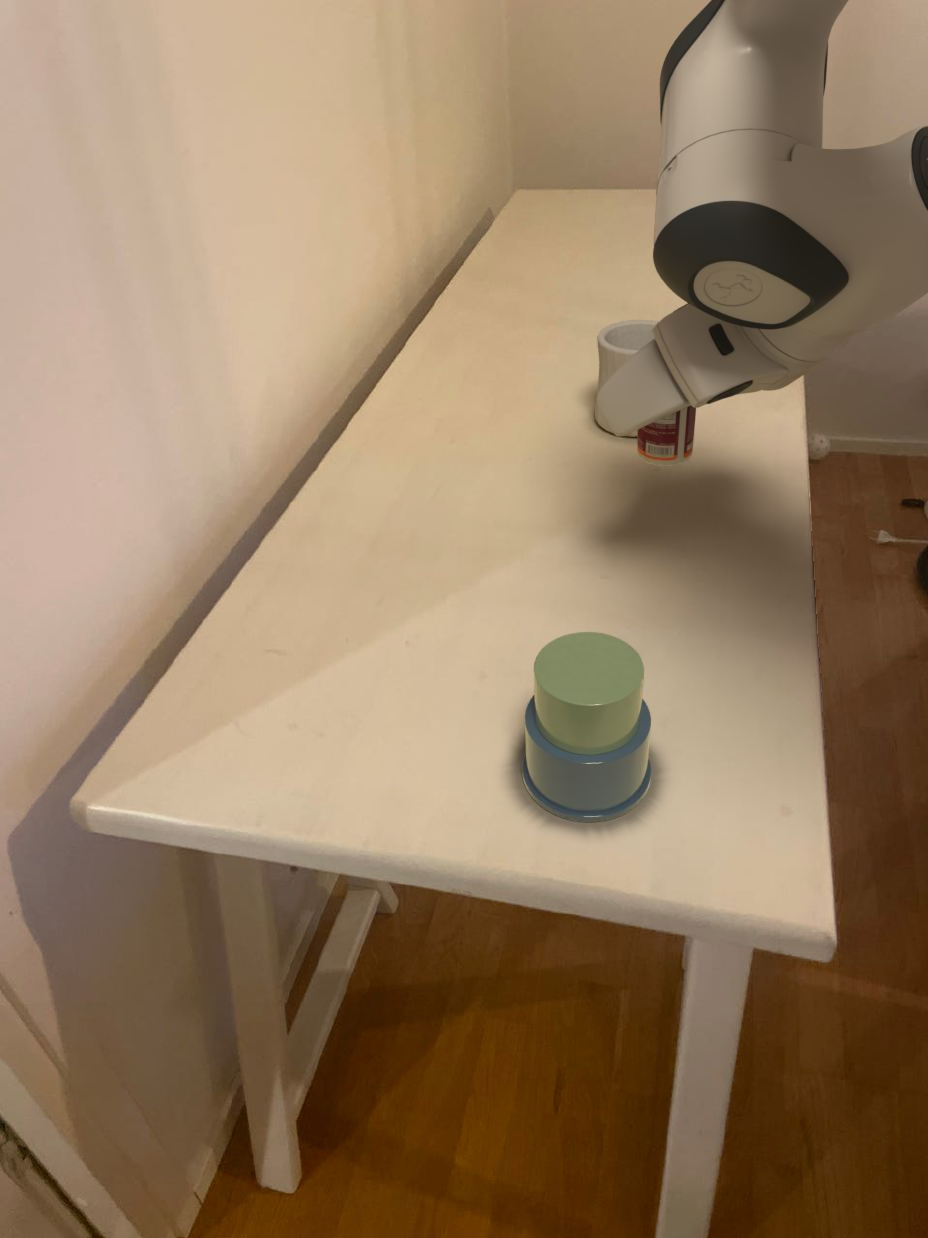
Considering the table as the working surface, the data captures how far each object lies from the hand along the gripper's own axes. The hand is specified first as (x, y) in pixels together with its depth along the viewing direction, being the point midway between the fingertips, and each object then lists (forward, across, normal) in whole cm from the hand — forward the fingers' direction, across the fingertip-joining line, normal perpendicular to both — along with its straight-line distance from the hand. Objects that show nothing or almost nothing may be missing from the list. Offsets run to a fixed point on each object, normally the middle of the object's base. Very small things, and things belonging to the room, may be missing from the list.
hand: (661, 404), depth 79 cm
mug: (+24, -16, -4) cm, 29 cm away
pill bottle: (+3, 0, +4) cm, 5 cm away
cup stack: (-3, +24, +22) cm, 32 cm away
